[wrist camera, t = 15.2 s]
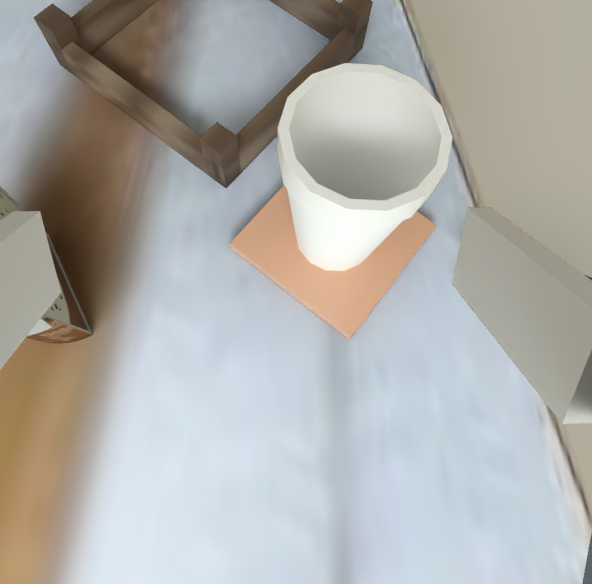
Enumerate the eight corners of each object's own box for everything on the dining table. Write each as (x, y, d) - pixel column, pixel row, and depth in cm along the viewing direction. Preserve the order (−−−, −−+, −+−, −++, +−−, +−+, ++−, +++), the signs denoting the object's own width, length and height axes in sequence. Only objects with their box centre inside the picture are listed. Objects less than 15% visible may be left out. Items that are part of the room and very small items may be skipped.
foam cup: (326, 163, 39) (352, 36, 27) (414, 228, 38) (484, 126, 25) (252, 240, 37) (242, 139, 24) (343, 313, 35) (381, 246, 23)
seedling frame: (60, 64, 42) (33, 17, 38) (206, -53, 48) (198, -107, 43) (226, 188, 39) (219, 153, 35) (362, 48, 45) (372, 1, 40)
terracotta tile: (231, 249, 38) (229, 243, 37) (319, 152, 41) (321, 144, 40) (349, 339, 36) (351, 336, 35) (432, 231, 39) (436, 225, 38)
